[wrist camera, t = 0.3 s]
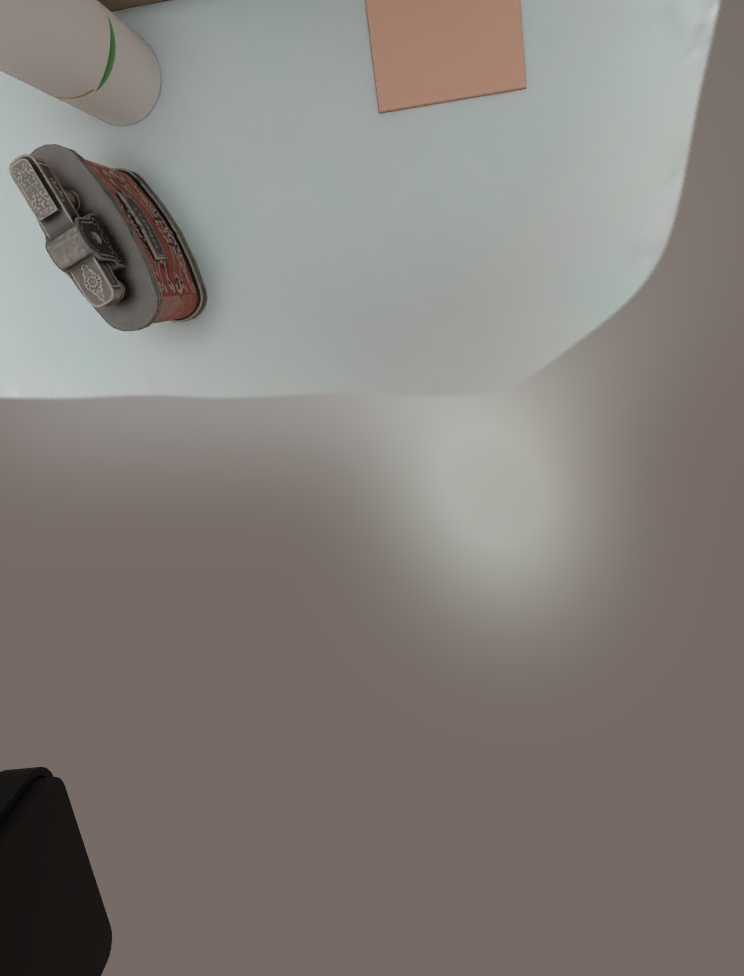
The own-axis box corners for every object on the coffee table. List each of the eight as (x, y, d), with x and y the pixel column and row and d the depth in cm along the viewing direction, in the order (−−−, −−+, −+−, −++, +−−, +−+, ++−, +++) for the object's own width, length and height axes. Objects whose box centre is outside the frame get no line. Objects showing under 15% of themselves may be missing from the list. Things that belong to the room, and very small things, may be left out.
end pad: (362, -30, 33) (361, -32, 33) (514, -59, 32) (515, -62, 32) (379, 112, 34) (379, 111, 34) (525, 88, 34) (526, 87, 33)
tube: (107, 142, 36) (-104, 52, 21) (58, 58, 35) (-198, -95, 20) (177, 96, 35) (7, -30, 20) (129, 8, 34) (-85, -188, 20)
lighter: (221, 302, 38) (153, 311, 28) (168, 332, 38) (84, 351, 29) (138, 156, 36) (36, 112, 26) (84, 191, 36) (-35, 161, 27)
